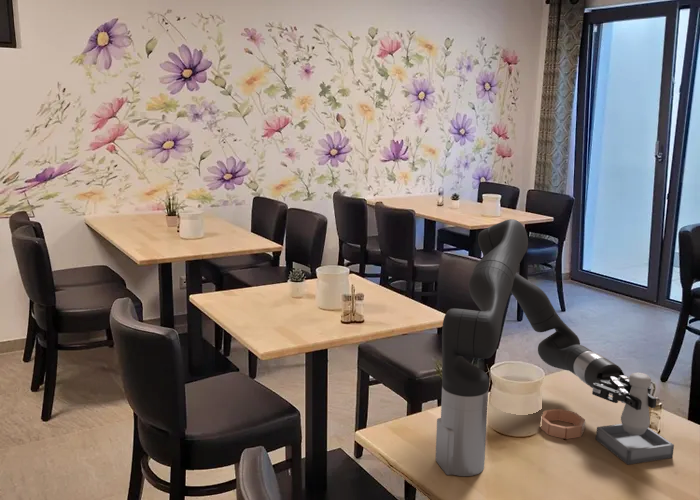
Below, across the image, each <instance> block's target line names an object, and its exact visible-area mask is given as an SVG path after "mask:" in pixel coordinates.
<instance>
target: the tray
mask: <svg viewBox="0 0 700 500" xmlns="http://www.w3.org/2000/svg"><path fill="white" fill-rule="evenodd" d="M595 440H596V441H597V443H600V444H601V445H602V446H604V447H605V448H606V449H607V450H609V451H610V452H611V453H612V454H614V455H615V456H616V457H617V458H618V459H620V460H621V461H622V462H624V463H625V464H626V465H633V464H640V463H641V464H642V463H647V462H655V461H661V460H666V459H673V456H674V450H675V449H674V447H675V443H672V442H671V441H669V440H668V439H666V438H665V437H663V436H661V435H660V434H659V433H657V432H656V431H654V430H653V429H652V428H650V426H649V427H648V428H647V430H646V432H645V433H644V434H642V435H632V434H629V433H628V432H626V431H624V428H623V425H622V423H617V424H616V423H615V424H610V425H603V426H597V427H596V432H595Z"/></svg>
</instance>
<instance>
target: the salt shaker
mask: <svg viewBox="0 0 700 500" xmlns="http://www.w3.org/2000/svg"><path fill="white" fill-rule="evenodd" d="M628 377H629V383H630V385H632V387H631V390H630V394H631V395H632V396H634V397H637V398H638V399H640V400H641V402H642V404H641V409H640V410H636V409H635V408H633V407H631V406H629V405H628V404H627V403H624V408H623V410H622V413H621V415H620V421H621V424H622V425H623V428H624V431H626V432H628V433H629V434H632V435H642V434H644V433H645V432H646V430H647V428H648V427H649V428H650V425H651V422H650V417H651V416H650V407H649V406H648V389H647V388H649V387H651V385H652V379H651V377H650V376H649V374H647V373H643V372H633V373H631V374H630V375H629V376H628Z"/></svg>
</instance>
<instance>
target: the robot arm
mask: <svg viewBox="0 0 700 500" xmlns="http://www.w3.org/2000/svg"><path fill="white" fill-rule="evenodd" d="M477 240H478V241H477V242H478V247H479V248H480V251H481V253H482V255H483V257H482V258H481V259H480V260H479V261H478V262H477V264H476V265H475V266H474V269H473V270H472V271H473V272H472V273H471V276H470V278H469V281H468V291H469V294H470V295H469V296H470V297H471V299H472V301H473V302H474V303H475V305H476V307H477V308H478V309H479V310H474V309H473V310H472V309H465V308H455V307H454V308H449V309H448V310H447V311H446V313H445V315H444V317H443V321H442V328H441V329H442V330H441V350H442V353H441V354H442V364H441V365H442V366H441V367H442V370H441V371H442V372H441V377H442V378H441V379H442V380H441V403H440V417H438V418H437V419H436V435H435V461H436V464H438V466H439V467H440V468H441V470H442V471H443V472H444V474H445V475H447V476H451V475H454V476H458V477H472V476H476V475H478V474H481V473H482V471H484V469H485V459H486V440H487V438H486V437H487V424H488V423H487V422H488V421H487V419H488V406H489V405H488V402H489V383H490V379H489V375H488V374H487V373H486V372H485V371H484V370H482V369H481V368H479V367H477V365H474V364H472V363H471V362H469V361H468V360H467V359H466V358H473V359H479V360H480V359H481V360H482V359H483V360H485V359H490V358H492V356H494V354H495V352H496V350H497V348H498V344H499V339H500V335H501V330H502V324H503V319H504V314H505V310H506V307H507V304H508V300H509V298H510V295H511V294H512V296H513V297H514V298H515V300H516V301H517V302H518V304H519V306H520V308H521V309H522V312H523V313H524V315H525V317H526V319H527V320H528V322H529V323H530V324H529V325H530V326H531V327H532V329H533V330H534V331H535V332H537V333H546V332H548V331H551V330H555V331H554V332H553V333H552V334H550V335H548V336H547V337H546V338H544V339H542V340H541V341H540V342H539V343H538V346H537V353H538V355H539V357H540V358H539V359H541V360H542V361H543V362H544V363H545V364H547V365H549V366H550V367H553V368H557V369H559V370H563V371H569V372H570V373H572V374H573V375H574V376H576V377H578V378H579V380H580V381H582V382H583V383H584V384H586V385H587V386H589V387H590V388H592V393H591V394H592V395H593V396H596V397H599V398H601V399H603V400H606V401H609V402H612V403H614V404H618V403H619V402H621V403H622V404H626V403H627V404H628V405H629V406H631V407H633V408H635V409H636V410H640V409H641V404H642V402H641V400H640V399H638V398H637V397H634V396H632V395H631V394H630V390H631V387H632V385H630V383H629V377H630V376H627V375H625V373H624V372H623V370H622V368H621V367H620V366H619V365H617V364H615V363H614V362H612V361H611V360H609V359H608V358H606V357H605V356H603V355H602V354H599V353H596V352H594V351H592V350H591V349H589V348H588V347H587V346H584V345H582V344H581V342H580V338H579V337H578V335H577V334H576V333H575V332H574V331H573V330H572V329H571V328H570V327H568V325H567V324H566V323H565V322H564V321H563V320H562V319H561V316H559V315H558V313H557V311H556V310H555V308H554V306H553V304H552V302H551V300H550V298H549V297H548V295H547V294H546V293H545V291H544V290H543V289H542V288H540V287H539V286H538V285H536V284H535V283H533V282H531V281H530V280H529V279H527V278H525V277H523V276H522V275H520V273H517V271H518V268H519V267H520V263H521V262H522V261H523V258H524V256H525V254H526V252H527V250H528V245H529V238H528V233H527V230H526V228H525V226H524V225H523V224H522V223H521V221H519V220H517V219H512V218H511V219H510V218H509V219H506V220H502V221H500V222H498V223H496V224H493V225H492V226H489V227H487V228H485V229H483V230H481V231H480V232H479V233H478V237H477ZM647 389H648V406H649V408H650V409H655V408H656V407H657V406H656V405H657V398H656V397H655V396H653V395H651V392H652V387H651V386H650V387H649V388H647Z"/></svg>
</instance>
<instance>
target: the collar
mask: <svg viewBox="0 0 700 500" xmlns="http://www.w3.org/2000/svg"><path fill="white" fill-rule="evenodd" d="M542 413H543V415H542V414H541V415H542V426H541V428H540V429H541V430H542V431H543V432H545V434H547V435H549V436H552V437H555V438H556V437H557V438H560V439H566V440H568V439H576V438H577V439H578V438H581V437H582V436H583V434H584V431H585V423H586V419H585V418H584V417H583V416H581V415H580V414H578V413H577V412H575V411H571V410H566V409H562V408H554V409H545V410H543V412H542ZM553 421H554V422H555V421H561V422H565V423H570V424H573V425H570V426H564V425H559V424H555V423H552V422H553Z"/></svg>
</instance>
